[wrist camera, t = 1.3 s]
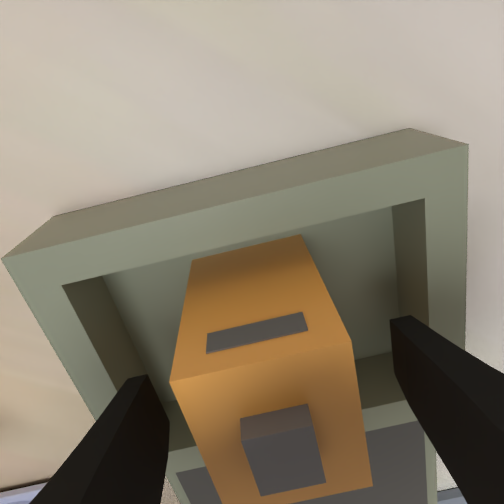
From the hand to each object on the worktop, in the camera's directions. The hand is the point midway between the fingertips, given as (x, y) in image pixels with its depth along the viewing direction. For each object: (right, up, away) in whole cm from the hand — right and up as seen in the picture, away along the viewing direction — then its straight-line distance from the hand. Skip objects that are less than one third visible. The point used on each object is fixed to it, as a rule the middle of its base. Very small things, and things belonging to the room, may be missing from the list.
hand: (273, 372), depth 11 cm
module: (0, +2, +3) cm, 4 cm away
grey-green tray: (+1, -3, +7) cm, 7 cm away
